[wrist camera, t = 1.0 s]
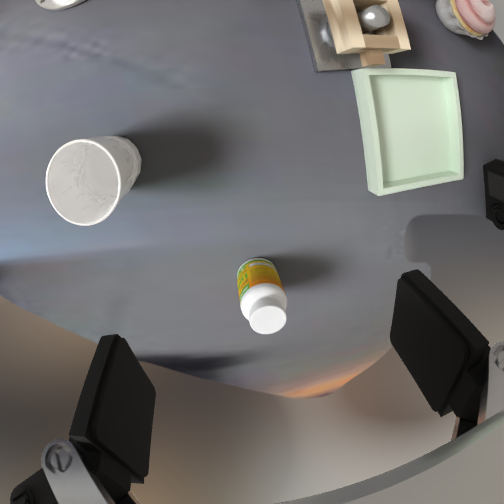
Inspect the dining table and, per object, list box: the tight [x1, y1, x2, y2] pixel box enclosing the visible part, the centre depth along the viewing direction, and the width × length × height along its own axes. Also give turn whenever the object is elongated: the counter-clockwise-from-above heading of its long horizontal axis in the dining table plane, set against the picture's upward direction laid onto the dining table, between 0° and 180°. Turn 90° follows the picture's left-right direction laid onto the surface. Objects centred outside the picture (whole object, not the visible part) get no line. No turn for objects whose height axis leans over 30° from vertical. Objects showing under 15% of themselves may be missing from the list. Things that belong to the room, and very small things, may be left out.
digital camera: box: [483, 159, 504, 230], centre depth 35 cm, size 10×5×7 cm, turn 24°
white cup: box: [46, 136, 141, 226], centre depth 27 cm, size 8×8×10 cm
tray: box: [351, 68, 464, 196], centre depth 31 cm, size 16×16×3 cm
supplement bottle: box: [237, 258, 287, 334], centre depth 35 cm, size 5×5×10 cm
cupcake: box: [436, 0, 495, 40], centre depth 20 cm, size 9×9×10 cm
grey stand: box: [296, 0, 391, 72], centre depth 23 cm, size 10×10×9 cm
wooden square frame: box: [323, 0, 411, 67], centre depth 22 cm, size 9×7×4 cm
